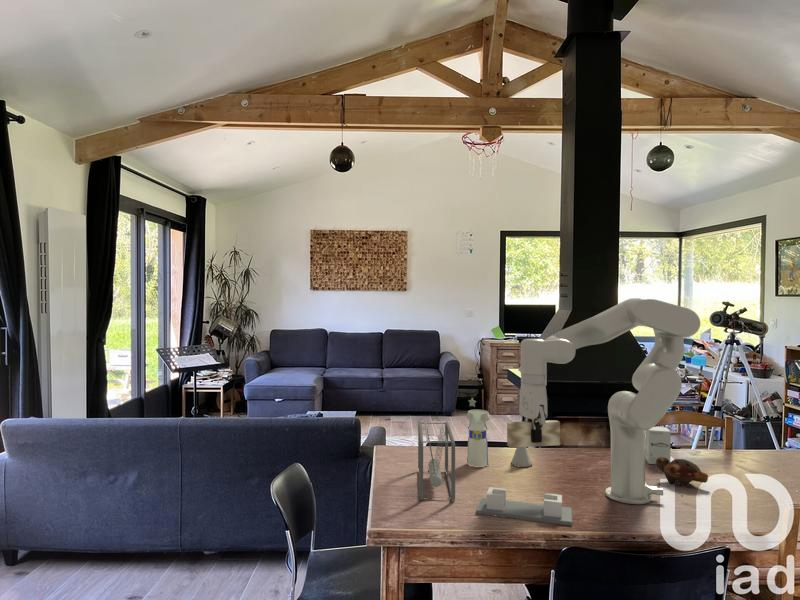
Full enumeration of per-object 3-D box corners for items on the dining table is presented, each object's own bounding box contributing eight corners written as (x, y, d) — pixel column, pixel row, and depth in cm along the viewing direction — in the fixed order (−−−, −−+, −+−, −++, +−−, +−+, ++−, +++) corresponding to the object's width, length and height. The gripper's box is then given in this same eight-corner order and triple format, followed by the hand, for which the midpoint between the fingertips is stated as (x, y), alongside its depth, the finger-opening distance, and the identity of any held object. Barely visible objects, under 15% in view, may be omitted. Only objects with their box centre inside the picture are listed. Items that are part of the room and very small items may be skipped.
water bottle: (489, 469, 180) (489, 398, 181) (465, 467, 182) (465, 397, 182) (490, 462, 188) (490, 394, 189) (467, 460, 190) (467, 393, 190)
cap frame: (571, 511, 142) (571, 493, 142) (572, 525, 133) (572, 506, 133) (481, 501, 150) (481, 484, 150) (476, 513, 140) (476, 495, 140)
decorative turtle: (659, 475, 174) (659, 452, 174) (710, 485, 164) (710, 460, 164) (652, 483, 166) (652, 458, 166) (705, 493, 157) (705, 467, 157)
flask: (507, 463, 187) (507, 436, 187) (523, 461, 190) (523, 434, 190) (519, 469, 180) (519, 440, 181) (536, 466, 184) (535, 438, 184)
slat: (556, 443, 156) (556, 420, 156) (560, 445, 154) (560, 421, 154) (507, 445, 153) (507, 422, 153) (510, 447, 150) (510, 423, 151)
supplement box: (648, 464, 186) (648, 429, 187) (645, 458, 193) (645, 425, 194) (671, 466, 184) (670, 431, 184) (666, 460, 191) (666, 426, 192)
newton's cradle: (418, 470, 178) (418, 420, 179) (448, 471, 178) (448, 420, 178) (419, 503, 148) (419, 441, 149) (455, 503, 148) (455, 442, 148)
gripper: (511, 376, 161) (511, 435, 160) (534, 383, 145) (534, 448, 145) (533, 376, 162) (533, 434, 162) (558, 383, 146) (558, 447, 146)
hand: (534, 440), depth 153 cm, fingers closed on slat, 2 cm apart
